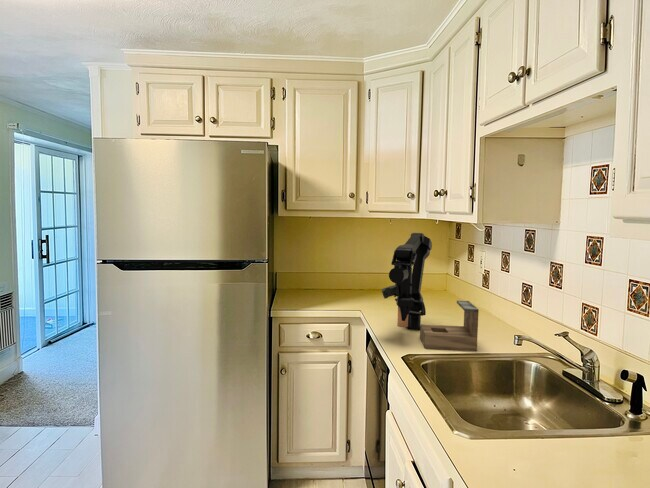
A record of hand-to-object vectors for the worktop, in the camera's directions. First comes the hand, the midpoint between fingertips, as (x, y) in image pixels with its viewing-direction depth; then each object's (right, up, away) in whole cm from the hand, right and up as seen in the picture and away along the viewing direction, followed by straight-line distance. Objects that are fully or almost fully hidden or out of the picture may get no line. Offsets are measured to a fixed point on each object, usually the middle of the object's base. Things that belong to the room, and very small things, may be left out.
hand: (402, 319), depth 159 cm
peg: (0, -3, 0) cm, 3 cm away
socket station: (+15, -8, -6) cm, 18 cm away
